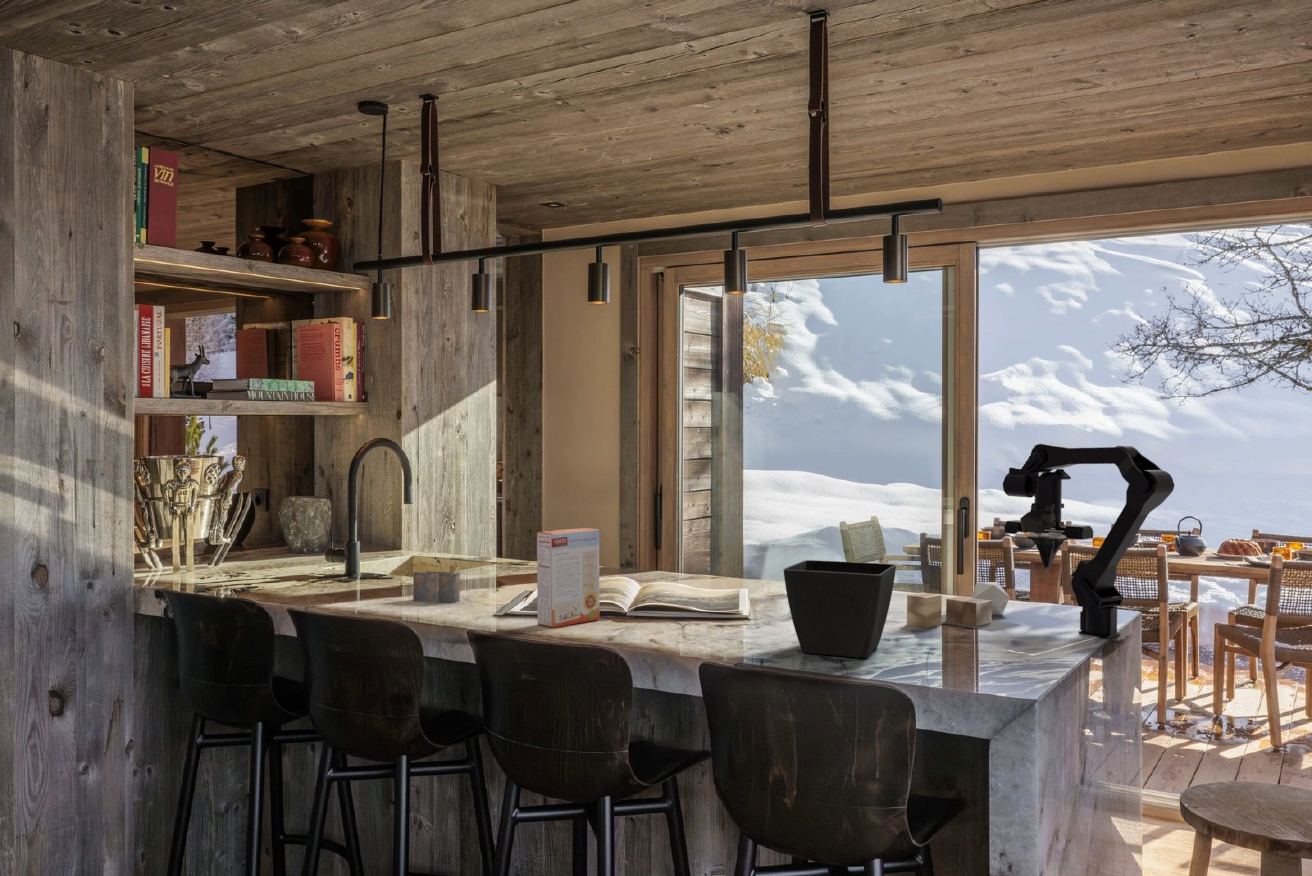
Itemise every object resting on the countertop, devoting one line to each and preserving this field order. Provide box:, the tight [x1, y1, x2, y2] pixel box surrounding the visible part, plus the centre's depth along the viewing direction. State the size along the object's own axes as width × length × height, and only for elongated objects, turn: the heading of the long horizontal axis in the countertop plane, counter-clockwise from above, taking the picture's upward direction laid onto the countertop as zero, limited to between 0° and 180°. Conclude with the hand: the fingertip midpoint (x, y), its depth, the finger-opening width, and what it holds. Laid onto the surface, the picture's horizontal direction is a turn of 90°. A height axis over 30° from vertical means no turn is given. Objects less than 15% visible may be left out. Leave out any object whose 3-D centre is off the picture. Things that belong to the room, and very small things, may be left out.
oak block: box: [906, 592, 943, 629], centre depth 226 cm, size 5×6×7 cm
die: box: [970, 581, 1011, 616], centre depth 240 cm, size 8×9×10 cm
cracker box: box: [536, 527, 601, 629], centre depth 226 cm, size 14×6×21 cm, turn 135°
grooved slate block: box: [412, 564, 461, 604], centre depth 253 cm, size 11×3×10 cm, turn 78°
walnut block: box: [945, 595, 993, 626], centre depth 229 cm, size 5×6×8 cm
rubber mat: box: [941, 613, 1021, 632], centre depth 229 cm, size 18×12×1 cm, turn 41°
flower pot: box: [783, 559, 897, 659], centre depth 199 cm, size 19×19×17 cm
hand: (1047, 567), depth 228 cm, fingers closed
